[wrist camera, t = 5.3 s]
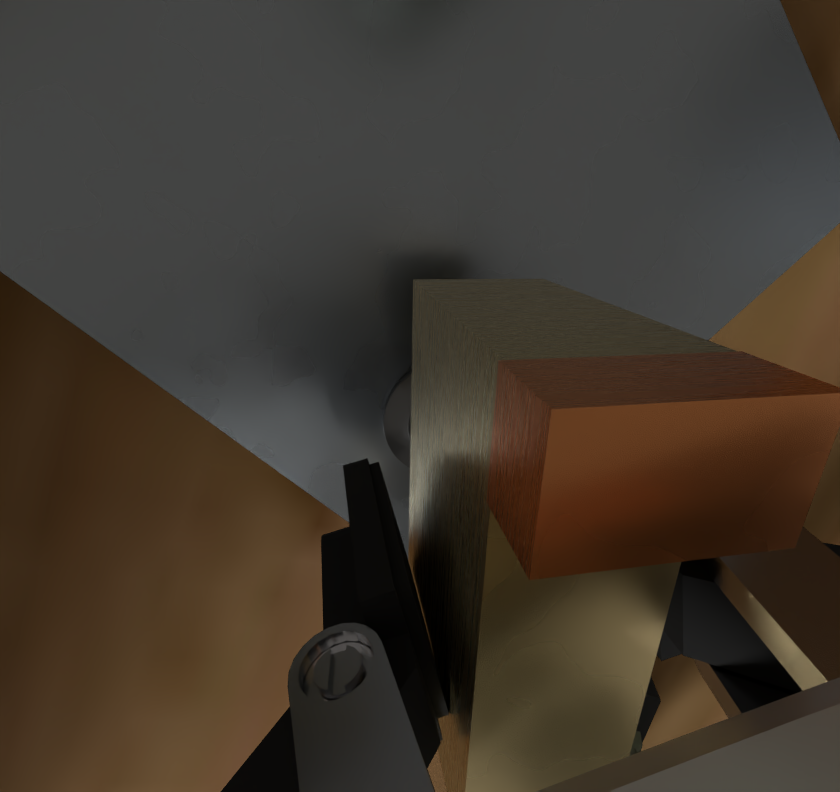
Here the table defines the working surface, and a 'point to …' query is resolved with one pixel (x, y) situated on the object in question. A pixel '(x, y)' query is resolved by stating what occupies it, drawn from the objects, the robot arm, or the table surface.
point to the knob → (580, 508)
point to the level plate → (390, 186)
